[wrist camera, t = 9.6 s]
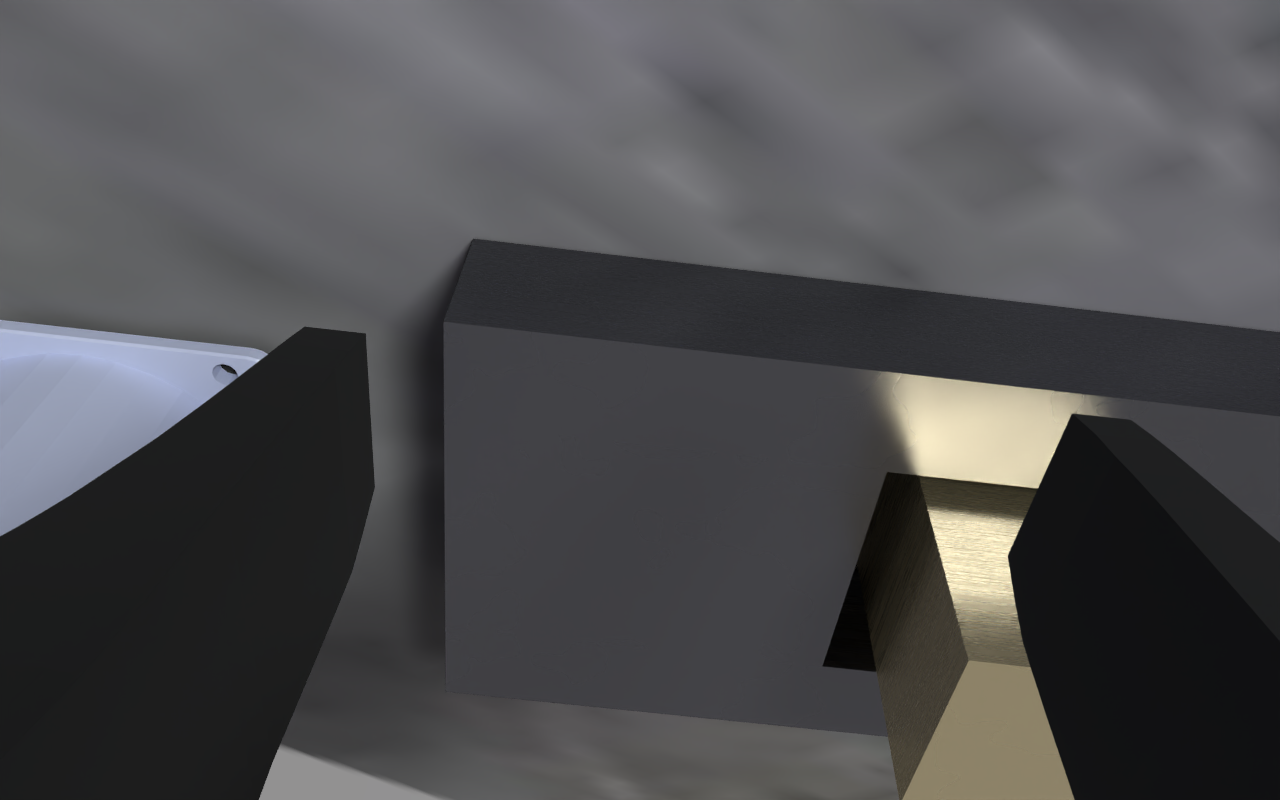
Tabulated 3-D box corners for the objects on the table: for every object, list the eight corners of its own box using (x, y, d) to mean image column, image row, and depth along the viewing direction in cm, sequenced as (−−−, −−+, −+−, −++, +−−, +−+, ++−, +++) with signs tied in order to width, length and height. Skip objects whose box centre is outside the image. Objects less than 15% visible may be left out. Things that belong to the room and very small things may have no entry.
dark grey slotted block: (468, 593, 26) (445, 691, 24) (473, 238, 20) (443, 321, 18) (1320, 682, 27) (1383, 787, 24) (1570, 366, 21) (1687, 462, 18)
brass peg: (851, 533, 24) (900, 803, 19) (897, 397, 22) (969, 660, 16) (1018, 552, 24) (1116, 826, 19) (1081, 419, 22) (1215, 688, 16)
